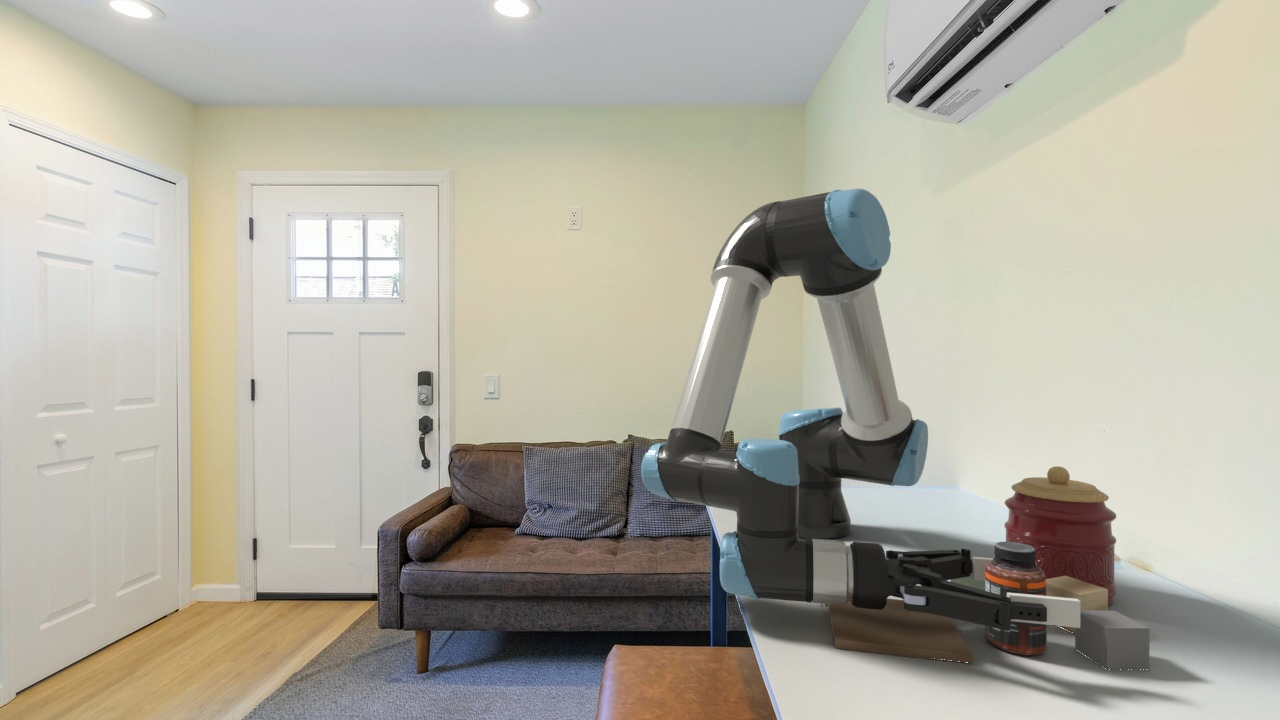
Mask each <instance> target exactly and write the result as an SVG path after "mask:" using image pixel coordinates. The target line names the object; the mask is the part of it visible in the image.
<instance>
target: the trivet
mask: <svg viewBox="0 0 1280 720" xmlns="http://www.w3.org/2000/svg"><path fill="white" fill-rule="evenodd" d="M886 600H887V603H886V606H885V608H884V609H882V610H876V609H866V608H856V607H854V605H852V604H851V601H848V602H847V604H846V605H845V606H841V605H831V604H828V606H827V608H828V613H829V619H830V626H831V631H832V635H833V636H832V637H833V642H834V647H835V649H840V650H847V651H857V652H867V653H874V654H875V653H876V654H883V655H892V656H899V655H901V657H907V656H909V658H916V657H920V658H919V659H925V658H932V659H931V660H933V659H934V658H935V659H943V660H944V659H945V660H952V661H960V662H968V663H973V664H974V654H973V653H972V651H971V649H970V648H969V646H968V645H967V643H966V641H965V640H964V638H963V637H962V635H961V634H960V632H959V631H958V628H956V626H955V624H954V623H953V621H952V620H951V618H949V617H944V616H940V615H935V614H931V613H925V612H915V611H908V610H906V609H904V599H896V598H894V599H893V598H887V599H886ZM911 656H912V657H911ZM968 663H967V664H968Z"/></svg>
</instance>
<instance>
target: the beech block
mask: <svg viewBox="0 0 1280 720" xmlns="http://www.w3.org/2000/svg"><path fill="white" fill-rule="evenodd" d="M1046 596H1052V597H1064V598H1075V599H1078V600H1079V601H1080V611H1109V605H1108V589H1105V588H1102V587H1099V586H1096V585H1093V584H1090V583H1087V582H1084V581H1081V580H1078V579H1075V578H1072V577H1068V576H1061V577H1055V578H1050V579H1046ZM1059 627H1062V628H1064V629H1066V630H1068V631H1070V632H1073V633H1075V627H1066V626H1059ZM1068 631H1067V632H1068ZM1070 632H1069V633H1070ZM1073 633H1072V634H1073Z"/></svg>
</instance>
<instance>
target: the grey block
mask: <svg viewBox="0 0 1280 720" xmlns="http://www.w3.org/2000/svg"><path fill="white" fill-rule="evenodd" d="M1074 637H1075V638H1074V639H1075V640H1074V643H1075V644H1074V648H1075V649H1076V650H1078V651H1080V652H1081V653H1083V654H1084V655H1086V656H1087V657H1089V658H1090V659H1092V660H1093V661H1094V663H1095V662H1096V663H1098V664H1099V665H1101V666H1103V667H1104V668H1106V669H1107V670H1106V669H1105V670H1106V671H1147V670H1146V669H1149V670H1150V627H1148V626H1146V625H1144V624H1142V623H1140V622H1138V621H1136V620H1134V619H1132V618H1130V617H1128V616H1127V615H1124V614H1123V613H1122V612H1121V613H1120V612H1118V611H1117V610H1108V611H1080V628H1076V627H1075V634H1074ZM1075 649H1074V650H1075ZM1076 650H1075V651H1076ZM1078 651H1077V652H1078ZM1081 653H1080V654H1081ZM1084 655H1083V656H1084ZM1087 657H1086V658H1087ZM1089 658H1088V659H1089ZM1090 659H1089V660H1090ZM1092 660H1091V661H1092ZM1093 661H1092V662H1093ZM1096 663H1095V664H1096ZM1098 664H1097V665H1098ZM1099 665H1098V666H1099ZM1101 666H1100V667H1101ZM1103 667H1102V668H1103ZM1104 668H1103V669H1104ZM1109 669H1110V670H1109ZM1120 669H1121V670H1120ZM1128 669H1129V670H1128ZM1131 669H1132V670H1131ZM1140 669H1141V670H1140ZM1143 669H1144V670H1143Z"/></svg>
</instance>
